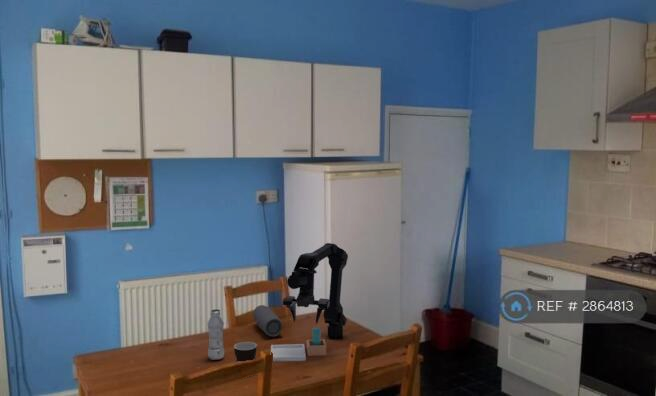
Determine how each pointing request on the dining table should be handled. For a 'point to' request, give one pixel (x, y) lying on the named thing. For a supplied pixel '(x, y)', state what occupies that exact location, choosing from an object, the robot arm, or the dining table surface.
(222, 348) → the plastic bottle
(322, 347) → the pin cup
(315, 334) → the dowel pin
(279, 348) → the grey tray
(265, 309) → the bluetooth speaker
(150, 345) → the dining table surface
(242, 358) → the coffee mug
